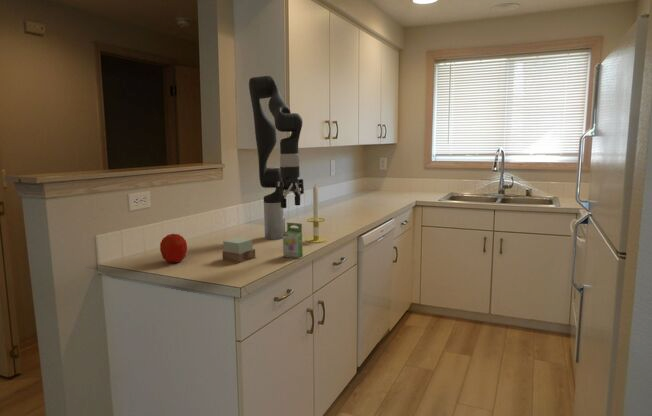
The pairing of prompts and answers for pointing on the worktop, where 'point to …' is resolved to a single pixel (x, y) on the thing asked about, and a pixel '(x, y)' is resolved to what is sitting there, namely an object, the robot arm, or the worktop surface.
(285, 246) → the ink box
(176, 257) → the apple
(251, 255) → the tower base
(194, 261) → the worktop surface
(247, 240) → the tower top
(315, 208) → the toy syringe
